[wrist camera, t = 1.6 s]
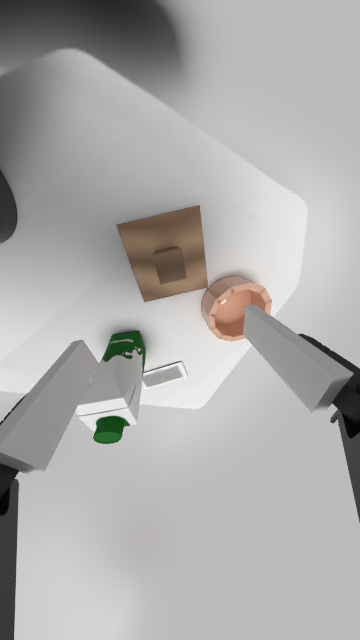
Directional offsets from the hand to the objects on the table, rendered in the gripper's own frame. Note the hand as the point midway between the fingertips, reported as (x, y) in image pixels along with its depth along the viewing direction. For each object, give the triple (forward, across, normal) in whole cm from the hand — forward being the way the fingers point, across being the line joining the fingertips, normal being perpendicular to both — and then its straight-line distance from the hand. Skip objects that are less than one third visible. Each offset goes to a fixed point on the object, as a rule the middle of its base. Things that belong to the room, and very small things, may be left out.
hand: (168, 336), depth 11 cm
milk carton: (+21, -13, -15) cm, 29 cm away
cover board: (+20, +2, +3) cm, 21 cm away
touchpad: (+22, -7, -30) cm, 38 cm away
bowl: (+21, +14, -9) cm, 27 cm away
